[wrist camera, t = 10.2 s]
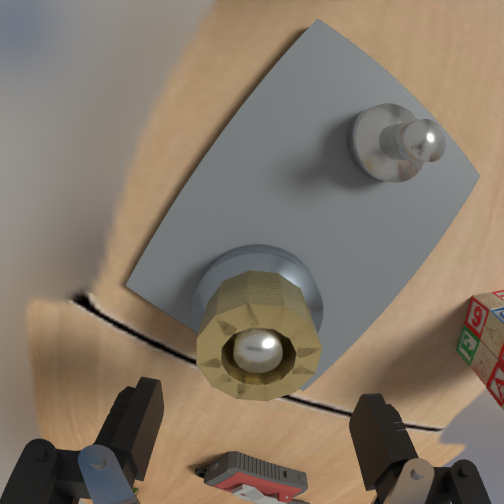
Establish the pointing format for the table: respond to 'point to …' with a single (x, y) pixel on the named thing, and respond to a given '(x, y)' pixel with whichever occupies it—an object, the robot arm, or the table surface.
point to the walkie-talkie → (254, 479)
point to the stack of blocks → (485, 341)
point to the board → (309, 194)
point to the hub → (253, 339)
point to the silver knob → (393, 142)
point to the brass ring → (258, 316)
